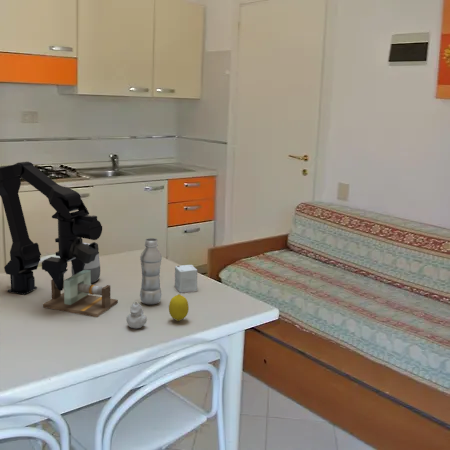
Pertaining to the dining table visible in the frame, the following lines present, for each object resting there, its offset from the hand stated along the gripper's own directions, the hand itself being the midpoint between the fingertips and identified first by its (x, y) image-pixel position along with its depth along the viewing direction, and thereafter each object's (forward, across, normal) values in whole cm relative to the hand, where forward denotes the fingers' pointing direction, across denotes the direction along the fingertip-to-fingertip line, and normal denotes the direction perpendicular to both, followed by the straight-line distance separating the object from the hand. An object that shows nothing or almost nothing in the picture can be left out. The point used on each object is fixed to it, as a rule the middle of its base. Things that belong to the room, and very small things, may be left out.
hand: (69, 285), depth 168 cm
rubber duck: (+6, -7, -26) cm, 27 cm away
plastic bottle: (+6, +10, -22) cm, 25 cm away
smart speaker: (+6, +19, +6) cm, 21 cm away
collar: (+4, 0, -3) cm, 4 cm away
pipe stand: (+6, 0, -4) cm, 7 cm away
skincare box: (+6, +26, -27) cm, 38 cm away
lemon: (+6, +1, -35) cm, 35 cm away
